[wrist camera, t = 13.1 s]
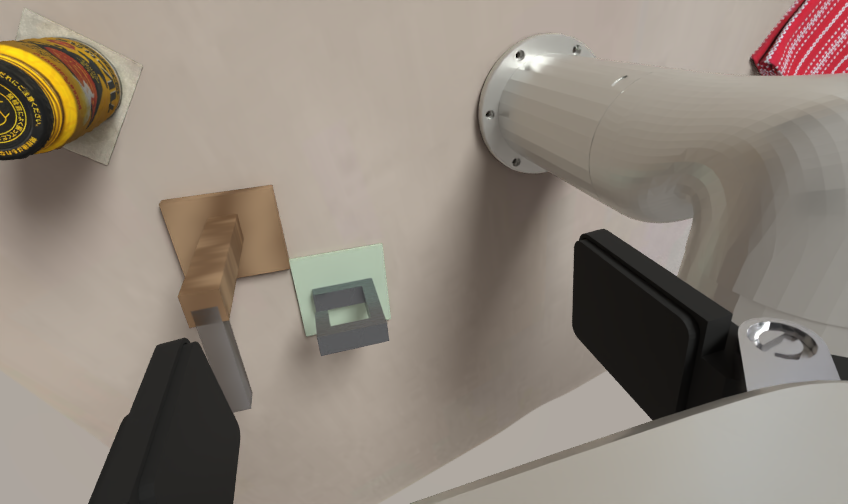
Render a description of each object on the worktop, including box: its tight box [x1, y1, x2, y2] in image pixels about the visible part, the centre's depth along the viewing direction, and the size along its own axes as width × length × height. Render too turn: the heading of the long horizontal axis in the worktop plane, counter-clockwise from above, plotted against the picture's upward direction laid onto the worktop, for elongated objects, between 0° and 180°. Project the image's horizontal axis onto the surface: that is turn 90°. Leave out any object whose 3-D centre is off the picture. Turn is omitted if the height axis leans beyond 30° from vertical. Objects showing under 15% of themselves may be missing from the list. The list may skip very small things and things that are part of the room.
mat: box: [289, 243, 391, 337], centre depth 47 cm, size 9×9×1 cm
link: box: [312, 278, 389, 356], centre depth 43 cm, size 6×2×8 cm, turn 94°
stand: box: [159, 185, 290, 413], centre depth 36 cm, size 9×12×14 cm
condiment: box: [0, 8, 143, 165], centre depth 28 cm, size 7×8×12 cm
